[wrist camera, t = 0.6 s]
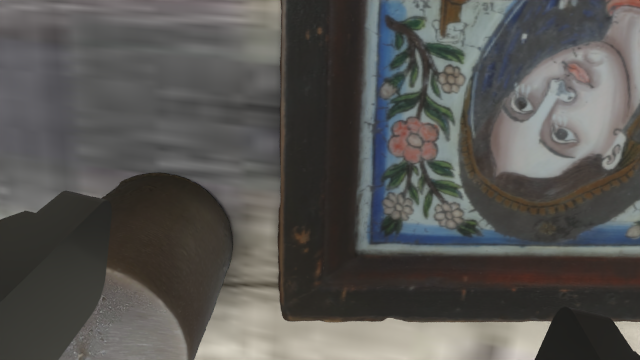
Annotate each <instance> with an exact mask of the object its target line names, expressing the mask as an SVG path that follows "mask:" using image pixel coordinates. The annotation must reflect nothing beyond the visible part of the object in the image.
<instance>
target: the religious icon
mask: <svg viewBox="0 0 640 360" xmlns="http://www.w3.org/2000/svg"><path fill="white" fill-rule="evenodd" d="M281 9H282V15H281V29H282V33H281V57H280V74H281V102H280V165H281V203H280V208H279V224H278V230H279V232H278V251H279V255H278V263H279V277H278V283H279V291H280V305H281V311H282V316H283V318H284V319H285V320H287V321H316V320H320V321H324V322H347V321H371V322H373V321H383V320H385V319H386V318H394V319H399V320H403V321H407V322H525V321H551V322H552V320H553V318H554V316H555V314H556V313H557V312H558V311H559V310H560V309H561V308H563V307H569V308H573V309H578V310H582V311H586V312H591V313H595V314H599V315H604V316H607V317H609V318H611V319H612V320H613V321H617V322H618V321H631V322H640V0H281Z"/></svg>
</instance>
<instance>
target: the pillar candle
mask: <svg viewBox="0 0 640 360" xmlns="http://www.w3.org/2000/svg"><path fill="white" fill-rule="evenodd" d="M102 199H104V200H108V201H109V202H110V204H111V208H112V216H111V227H110V237H109V247H108V258H107V268H106V278H105V283H104V288H103V291H102V294H101V297H100V300H99V302H98V305H97V307H96V309H95V310H94V312H93V313H92V315H91V316H90V318H89V319H88V320H87V322H86V323H85V324H84V326H83V327H82V328H81V330H80V331H79V333H78V334H77V335H76V337H75V338H74V339H73V341H72V342H71V343H70V345H69V346H68V347H67V349H66V350H65V352H64V353H63V354H62V356H61V357H60V358H59V360H194V358H195V356H196V353H197V350H198V347H199V344H200V342H201V339H202V337H203V335H204V332H205V330H206V326H207V324H208V322H209V320H210V318H211V315H212V312H213V310H214V307H215V304H216V301H217V298H218V295H219V292H220V289H221V287H222V285H223V281H224V278H225V275H226V272H227V270H228V268H229V265H230V262H231V257H232V248H233V241H232V234H231V229H230V225H229V221H228V219H227V217H226V215H225V213H224V211H223V210H222V208H221V207H220V206H219V204H218V203H217V202H216V200H215V199H214V198H213V197H212V196H211V195H210V194H209V193H208V192H207V191H206V190H204V189H203V188H202V187H201V186H199V185H198V184H196V183H194V182H191V181H190V180H188V179H185V178H182V177H179V176H177V175H170V174H165V173H149V174H142V175H138V176H134V177H131V178H129V179H126V180H124V181H122V182H121V183H120V184H119V186H118V187H117V188H115V189H114V190H113V191H112V192H110V193H109V194H107V195H106V196H105V197H103V198H102Z"/></svg>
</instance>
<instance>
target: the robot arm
mask: <svg viewBox="0 0 640 360" xmlns="http://www.w3.org/2000/svg"><path fill="white" fill-rule="evenodd" d="M111 216H112V208H111V204H110V202H109V201H108V200H104V199H100V198H96V197H91V196H87V195H83V194H78V193H74V192H70V191H63V192H61V193H60V194H59V195H58V196H56V197H55V198H54V199H53V200H51V201H50V202H49V203H48V204H47V205H45V206H44V207H43V208H42V209H40V210H39V211H38V212H37V213H33V212H29V211H24V212H21V213H18V214H15V215H12V216H9V217H7V218H4V219H1V220H0V360H59V358H60V357H61V356H62V354H63V353H64V352H65V350H66V349H67V347H68V346H69V345H70V343H71V342H72V341H73V339H74V338H75V337H76V335H77V334H78V333H79V331H80V330H81V328H82V327H83V326H84V324H85V323H86V322H87V320H88V319H89V318H90V316H91V315H92V313H93V312H94V310H95V309H96V307H97V305H98V302H99V300H100V297H101V294H102V291H103V288H104V283H105V278H106V268H107V258H108V247H109V237H110V227H111ZM535 360H640V355H639V354H637V353H636V352H635V351H633V350H632V349H631V347H630V346H629V344H628V343H627V341H626V340H625V338H624V337H623V335H622V334H621V332H620V331H619V329H618V328H617V326H616V325H615V323H614V322H613V320H612V319H611V318H609V317H607V316H604V315H599V314H595V313H591V312H586V311H582V310H578V309H573V308H569V307H563V308H561V309H560V310H559V311H558V312H557V313H556V314H555V316H554V318H553V320H552V322H551V324H550V327H549V329H548V331H547V333H546V336H545V338H544V340H543V342H542V345H541V347H540V349H539V351H538V354H537V356H536V358H535Z"/></svg>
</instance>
